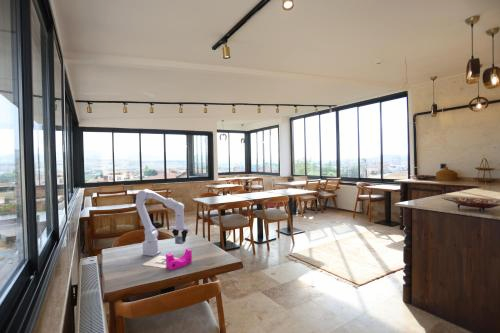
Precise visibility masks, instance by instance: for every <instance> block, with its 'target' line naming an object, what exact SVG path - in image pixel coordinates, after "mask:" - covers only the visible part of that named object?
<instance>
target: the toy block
mask: <svg viewBox="0 0 500 333" xmlns="http://www.w3.org/2000/svg"><path fill="white" fill-rule="evenodd" d="M192 252H193V250H192V249H191V248H186V249H185V252H184V254H183V255H182V256H181V257H178V258H179V259H174V254H172V253H171V252H170V253H167V254H165V256H166V267H167V269H168V270H170V271H172V270H176V269H178V268H182V267H185V266H187V265H188V264H191V263H192V262H193V258H192V256H193V254H192Z"/></svg>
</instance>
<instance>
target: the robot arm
mask: <svg viewBox="0 0 500 333" xmlns="http://www.w3.org/2000/svg"><path fill="white" fill-rule="evenodd" d="M150 199H153V200H156V201H158V202H161V203H163V204H164V206H166V207H167V208H169V209H172V210H174V213H175V214H174V216H175V225H172V226H170V228H169V229H170V230H171V233H172V234H173V237H174V238H175V236H177V235H179V233H180V232H181V234H182V240H183V242H184V241H185V239H187V235H188V233H189V232H190V231H191V228H190V227H186V226H185V212H184V211H185V204H184V203H182V202H179V201H176V200H175V199H173V197H164V196H163V195H160V194H158V193H157V192H155V191H153V190H152V189H151V190H150V189H149V188H144V189H141V190H139V191H137V193H136V195H135V207H136V211H137V213H138V215H139V217H140V220H141V222H142V225H143V228H144V240H143V243H142V254H141V255H143V256H148V257H149V256H151V257H155V256H156V255H158V254H160V253H162V252H161V251H159V246H158V244H159V241H158V239H159V238H158V237H159V231H158V230H157V229H156V227H155V226H154V225H153V223H152V221H151V218H150V215H149V213H148V210H147V207H146V204H145V203H146V202H147V200H150Z"/></svg>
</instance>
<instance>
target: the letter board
mask: <svg viewBox="0 0 500 333" xmlns="http://www.w3.org/2000/svg"><path fill="white" fill-rule="evenodd" d="M173 257H174V256H173ZM179 258H180V257H174V259H179ZM141 265H142V266H146V267H155V268H161V269H166V268H167V267H166V255H157V256H156V257H155V256H154V258H151V259H150V260H148V261H146V262H144V263H143V264H141ZM167 269H168V268H167Z"/></svg>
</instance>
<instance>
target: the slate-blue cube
mask: <svg viewBox="0 0 500 333" xmlns="http://www.w3.org/2000/svg"><path fill="white" fill-rule="evenodd" d="M186 239H187V238H186ZM186 239H185V241H184V242H183V240H182V233H181V234H179V233H178V235H177V236H175V237H174V241H175V242H174V244H176V245H183V244H185V243H186V242H187V240H186Z"/></svg>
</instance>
